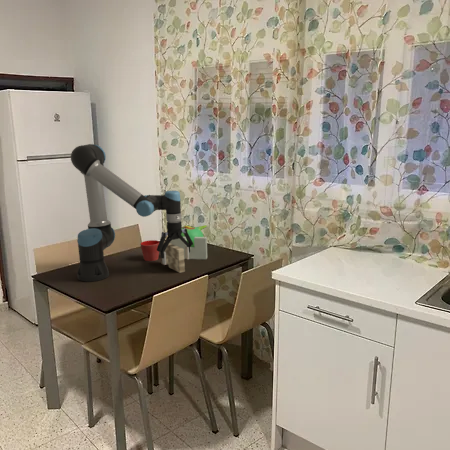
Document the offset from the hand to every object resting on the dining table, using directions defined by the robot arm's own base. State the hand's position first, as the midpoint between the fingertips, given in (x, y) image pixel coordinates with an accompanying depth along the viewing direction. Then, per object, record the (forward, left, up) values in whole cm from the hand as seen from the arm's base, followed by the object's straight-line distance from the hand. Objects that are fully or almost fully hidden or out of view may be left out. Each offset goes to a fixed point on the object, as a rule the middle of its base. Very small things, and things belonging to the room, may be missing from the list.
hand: (176, 261), depth 237 cm
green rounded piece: (-2, +39, -4) cm, 39 cm away
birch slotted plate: (-3, +3, -4) cm, 6 cm away
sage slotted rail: (+1, +20, -4) cm, 20 cm away
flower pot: (-19, +16, -4) cm, 25 cm away
